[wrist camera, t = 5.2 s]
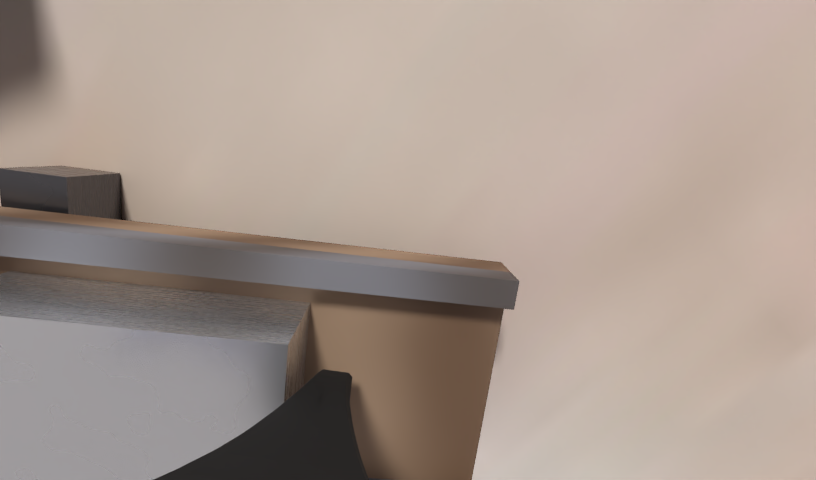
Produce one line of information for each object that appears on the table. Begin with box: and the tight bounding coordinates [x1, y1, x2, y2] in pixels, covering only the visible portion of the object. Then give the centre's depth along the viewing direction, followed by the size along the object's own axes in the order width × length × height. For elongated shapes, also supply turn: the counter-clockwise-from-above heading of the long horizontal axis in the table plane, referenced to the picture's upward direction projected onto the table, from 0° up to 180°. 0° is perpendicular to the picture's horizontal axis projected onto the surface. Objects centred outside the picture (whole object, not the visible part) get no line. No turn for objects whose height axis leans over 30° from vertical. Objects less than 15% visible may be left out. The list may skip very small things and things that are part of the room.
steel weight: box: [0, 271, 310, 480], centre depth 10 cm, size 8×5×2 cm, turn 83°
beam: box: [0, 206, 519, 480], centre depth 11 cm, size 28×8×2 cm, turn 83°
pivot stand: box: [0, 166, 121, 220], centre depth 14 cm, size 2×10×2 cm, turn 173°
